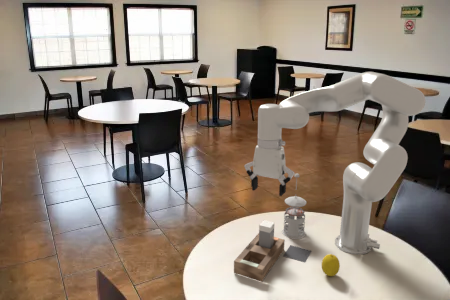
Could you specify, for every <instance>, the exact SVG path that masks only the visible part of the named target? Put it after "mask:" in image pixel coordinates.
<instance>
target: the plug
mask: <svg viewBox="0 0 450 300" xmlns="http://www.w3.org/2000/svg"><path fill="white" fill-rule="evenodd" d="M258 228H259V229H258V233H259V246H261V247H265V248H268V249H272V247H273V246H274V237H275V222H273V221H269V220H265V219H263V221H261V222H260V224H259V225H258Z"/></svg>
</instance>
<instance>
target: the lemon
mask: <svg viewBox="0 0 450 300" xmlns="http://www.w3.org/2000/svg"><path fill="white" fill-rule="evenodd" d="M340 266H341V265H340V260H339V258H338V257H337V255H334V254H332V253H329V254H326V255H325V256H324V257H323V258H322V261H321V270H322V272H323V274H325V275H326V276H328V277H334V276H336V275H337V274H338V273H339V272H340Z"/></svg>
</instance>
